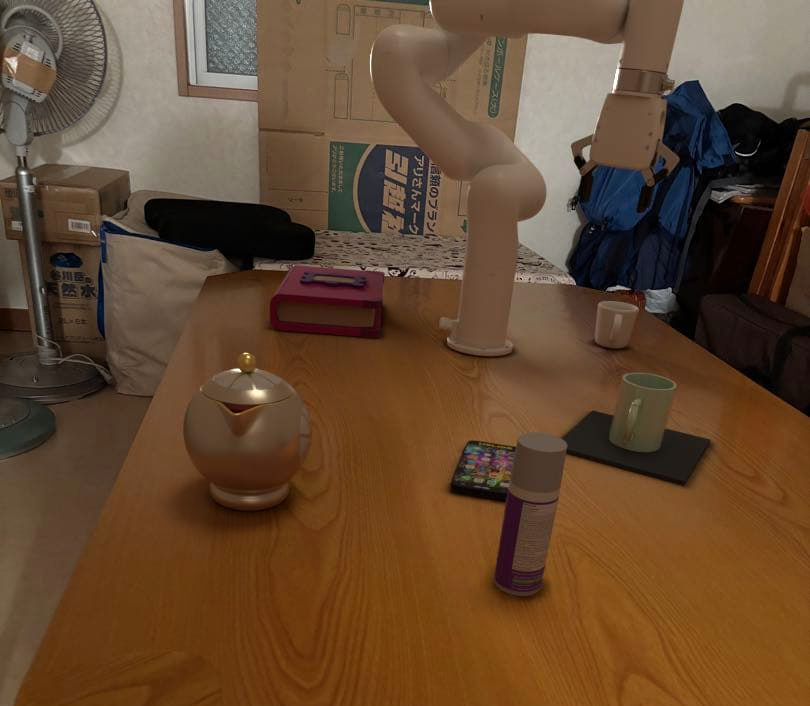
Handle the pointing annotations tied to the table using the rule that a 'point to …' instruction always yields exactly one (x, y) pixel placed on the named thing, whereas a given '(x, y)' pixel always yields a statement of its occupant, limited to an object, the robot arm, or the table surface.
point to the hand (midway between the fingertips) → (611, 207)
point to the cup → (615, 323)
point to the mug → (642, 412)
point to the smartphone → (484, 470)
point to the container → (529, 513)
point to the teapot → (247, 435)
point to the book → (329, 302)
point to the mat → (664, 463)
